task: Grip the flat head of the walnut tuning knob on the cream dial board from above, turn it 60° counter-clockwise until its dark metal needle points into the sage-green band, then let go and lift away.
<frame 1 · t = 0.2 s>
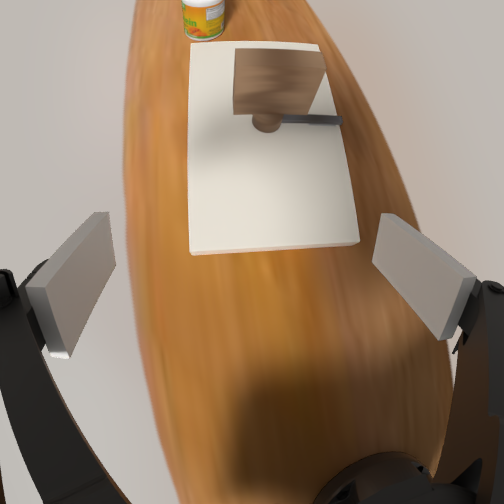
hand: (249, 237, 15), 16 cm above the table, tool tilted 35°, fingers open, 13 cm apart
dial board: (264, 132, 33), on the table
supplement bottle: (204, 31, 35), on the table
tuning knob: (297, 93, 26), point 7 cm above the table, hinge at 0.0°
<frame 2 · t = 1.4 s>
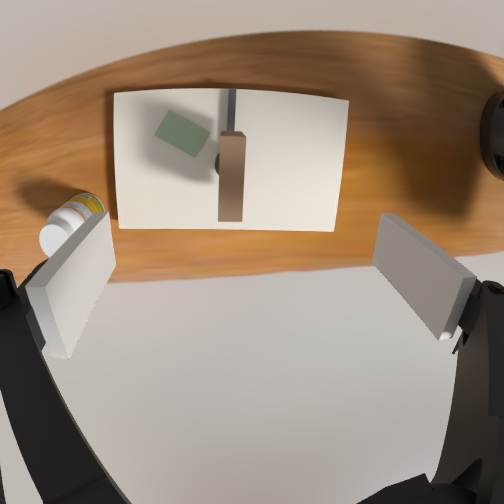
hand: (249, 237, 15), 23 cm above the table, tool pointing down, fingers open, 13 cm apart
dial board: (228, 158, 35), on the table
supplement bottle: (88, 211, 37), on the table
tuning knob: (231, 145, 28), point 7 cm above the table, hinge at 0.0°
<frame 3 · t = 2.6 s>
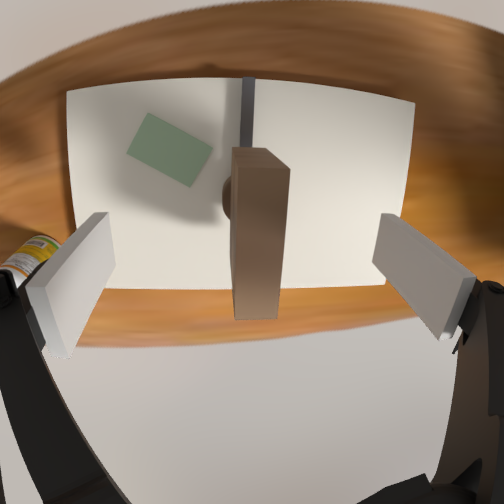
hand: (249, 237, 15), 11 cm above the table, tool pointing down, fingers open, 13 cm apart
dial board: (241, 184, 24), on the table
supplement bottle: (48, 259, 25), on the table
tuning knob: (251, 174, 17), point 7 cm above the table, hinge at 0.0°
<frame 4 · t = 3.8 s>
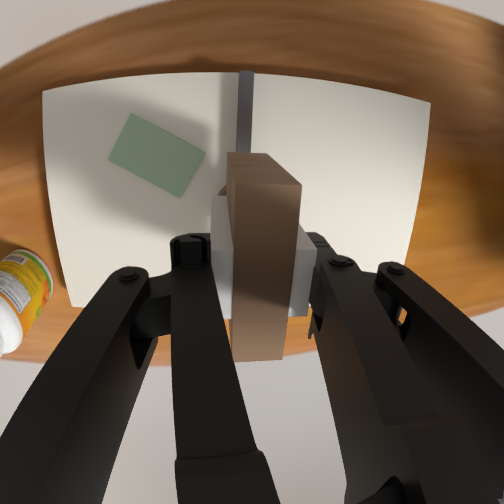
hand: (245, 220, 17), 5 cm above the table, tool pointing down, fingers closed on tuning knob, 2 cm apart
dial board: (238, 193, 21), on the table
supplement bottle: (30, 274, 22), on the table
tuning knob: (250, 186, 14), point 7 cm above the table, hinge at 0.0°, touching gripper
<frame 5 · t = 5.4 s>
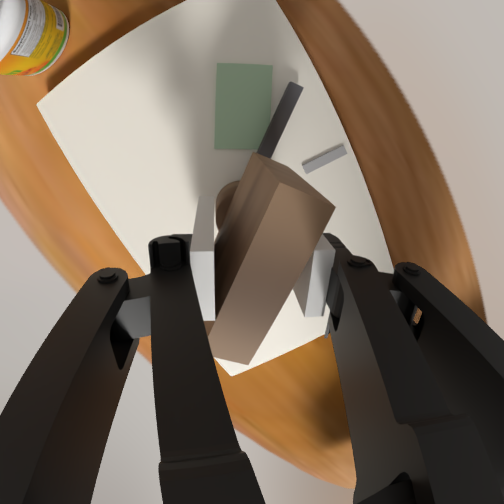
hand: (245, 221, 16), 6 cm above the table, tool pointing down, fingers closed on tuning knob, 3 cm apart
dial board: (237, 194, 21), on the table
supplement bottle: (41, 42, 15), on the table
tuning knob: (267, 191, 14), point 7 cm above the table, hinge at 38.7°, touching gripper
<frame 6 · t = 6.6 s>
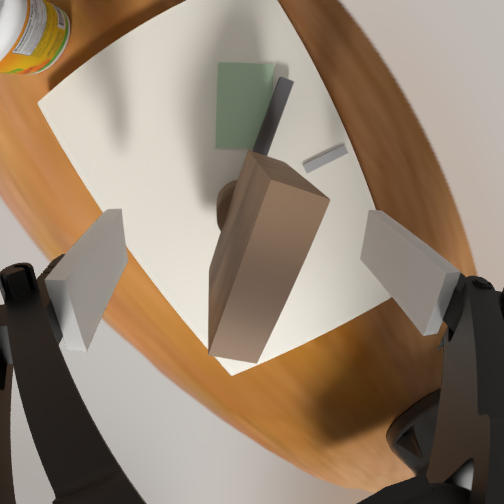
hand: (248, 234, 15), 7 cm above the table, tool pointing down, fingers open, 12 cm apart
dial board: (238, 193, 21), on the table
supplement bottle: (42, 40, 15), on the table
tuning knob: (264, 188, 14), point 7 cm above the table, hinge at 43.6°
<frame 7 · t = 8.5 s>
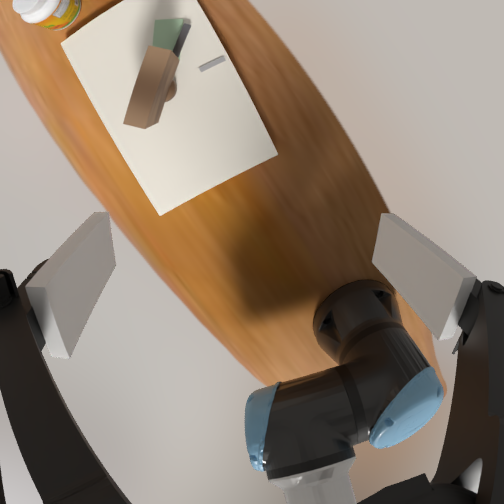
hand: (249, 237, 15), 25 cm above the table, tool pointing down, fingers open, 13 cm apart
dial board: (166, 90, 33), on the table
supplement bottle: (64, 12, 25), on the table
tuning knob: (163, 66, 25), point 7 cm above the table, hinge at 44.1°
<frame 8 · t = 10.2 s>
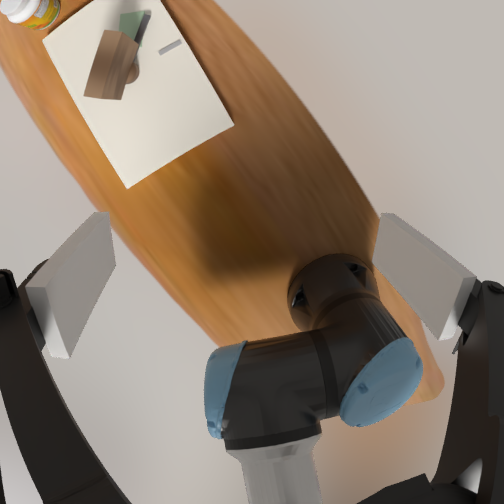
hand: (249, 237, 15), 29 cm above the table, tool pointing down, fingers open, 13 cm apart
dial board: (132, 74, 34), on the table
supplement bottle: (46, 14, 27), on the table
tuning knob: (122, 50, 27), point 7 cm above the table, hinge at 44.1°
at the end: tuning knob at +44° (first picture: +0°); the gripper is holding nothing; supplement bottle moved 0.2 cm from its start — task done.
